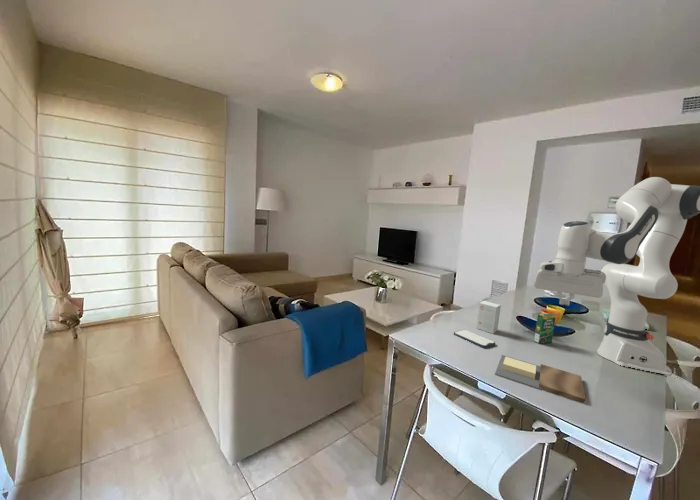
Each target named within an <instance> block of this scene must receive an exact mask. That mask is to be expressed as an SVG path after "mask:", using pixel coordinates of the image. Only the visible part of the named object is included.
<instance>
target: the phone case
mask: <svg viewBox="0 0 700 500" xmlns="http://www.w3.org/2000/svg"><path fill="white" fill-rule="evenodd" d="M453 335H454V336H455V337H458V338H460V339H462V340H464V341H466V340H467V342H468V341H469V343H470V342H471V344H472V343H473V345H475V346H477V347H480V348H482V349H488V348H492V347H494V346H496V342H495V341H493V340H492V339H488V338H486V337H484V336H481V335H479V334H476V333H474V332H471V331H469V330H466V329H462V330H458V331H457V330H456V331H454V332H453Z"/></svg>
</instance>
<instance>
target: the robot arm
mask: <svg viewBox="0 0 700 500" xmlns="http://www.w3.org/2000/svg"><path fill="white" fill-rule="evenodd" d="M615 212H616V214H617V215H618V217H619V218H621V219H622V220H623V221H625V222H627V223H630V225H629V226H628V227H627V228H626V230H625V231H623V232H616V233H615V232H605V231H602V232H601V231H597V230H594V229H592V227H590V224H589V222H587V221H580V220H579V221H577V220H576V221H568V222H565V223H563V224H562V226H561V228H560V230H559V234H558V237H557V238H558V239H557V246H556V247H557V253H556V256H555V259H554V260H547V261H542V262H541V263H540V265H539V268H540V269H538V270H537V272H536V274H535V278H534V283H533V287H534V288H535V289H539V290H543V291H545V290H546V291H552V292H557V293H556V294H557V295H556V296H557V297H558V299H559V305H565V306H570V303H571V301H572V300H573V299H574V298H575V295H576V296H577V295H578V296H584V297H591V298H596V299H598V298H601V297H603V294H604V286H605V287H606V288H607V291H608V295H609V299H610V308H609V309H610V314H609V320H608V321H606V323H605V326H604V331H603V333H604V336H603V338H602V341H601V343H600V345H599V347H598V349H597V350H596V353H597V354H598V355H599V356H601V357H603V358H605V359H606V360H608V361H611V362H613V363H615V364H616V365H618V366H620V365H621V366H620V367H623V366H625V367H624V368H628V367H631V368H630V369H632V368H635V369H634V370H637V369H640V370H639V371H642V370H644V371H643V372H646V371H650V372H649V373H651V372H657V373H662V374H665V375H664V376H666V377H671V376H672V374H673V373H672V372H673V371H672V369H671V368H670V367H669V366H668V365H667V364H666V359H665V356H664V353H663V352H662V351H661V350H660V349H659V348H658V347H657V346H656V345H654V344H653V343H652V342H651V341H652V340H654V339H655V337H654V335H653V334H652V333H650V332H648V330H644V327H645V322H647V319H648V318H647V317H648V310H647V309H646V307H645V306H644V305H643V304H642V303H641V302H640V299H639V298H638V296H641V297H644V298H649V299H660V300H666V299H669V298H671V297H672V296H673V295H675V294H676V292H677V290H678V286H679V283H678V281H677V279H676V277H675V276H674V275H673V274H672V272H671V269H670V261H671V257H672V255H673V253H674V252H675V249H676V247H677V245H678V243H679V242H680V240H681V238H682V236H683V234H684V232H685V229H686V225H687V222H688V220H690V219H692V218H693V217H695V216H698V215H699V214H700V185H687V184H686V185H685V184H674V183H673V184H672V183H670V181H668V180H667V179H665V178H663V177H660V176H651V177H647V178H645V179H643V180H642V181H640V182H637V183H636V184H635V185H634V186H632V187H631V188H629V189H628V190H627V191H625V192H624V193H623V194H622V195H621V196H620V197H619V198H618V199H617V201H616V203H615ZM636 255H637V256H638V257H639V263H638V265H633V264H626V263H628V262H630V261H632V260H633V259H634V258H635V257H636ZM587 258H589V259H592V260H593V259H594V260H599V261H604V262H607V264H605V265H604V266H603V267H602V268H601V270H598V269H597V270H594V269H588V268H586V264H587V263H586V262H587ZM608 262H609V263H608ZM603 284H604V285H603ZM564 293H565V294H568V295H569V297H568V298H567V299H565V298H562V295H563V294H564Z"/></svg>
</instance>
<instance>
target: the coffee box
mask: <svg viewBox="0 0 700 500" xmlns="http://www.w3.org/2000/svg"><path fill="white" fill-rule="evenodd" d="M556 317H557V315H556V314H554V313H552V312H551V313H540V314H539V313H538V314H537V317H536V324H535V331H534V337H533V342H535V343H536V344H537V345H538V344H539V345H540V344H551V343H552V342H553V335H554V330H555V324H556V319H557V318H556Z"/></svg>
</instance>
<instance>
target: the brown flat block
mask: <svg viewBox="0 0 700 500" xmlns="http://www.w3.org/2000/svg"><path fill="white" fill-rule="evenodd" d="M540 366H541V367H540V379H539V388H542V390H541V391H545V392H548V393H551V394H553V395H554V394H555V395H557V396H559V397H563V398H566V399H569V400H572V401H575V402H578V403H580V404H585V403H586V396H585V389H584V385H583V379H582V375H579V374H576V373H574V372H573V373H572V372H570V371H566V370H562V369H559V368H555V367H551V366H548V365H545V364H540Z"/></svg>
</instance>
